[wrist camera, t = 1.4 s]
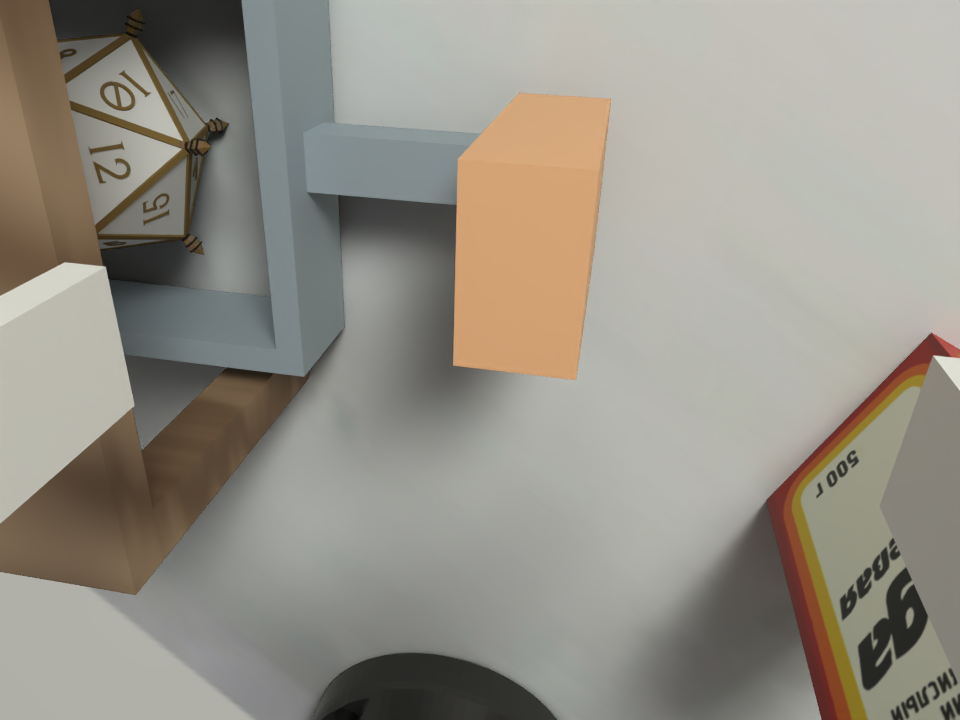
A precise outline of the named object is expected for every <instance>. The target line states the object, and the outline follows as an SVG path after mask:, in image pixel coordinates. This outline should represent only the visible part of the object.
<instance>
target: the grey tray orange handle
mask: <svg viewBox="0 0 960 720" xmlns="http://www.w3.org/2000/svg"><path fill="white" fill-rule="evenodd" d="M242 10H243V20H244V30H245V40H246V50H247V60H248V70H249V80H250V91H251V101H252V111H253V121H254V131H255V141H256V151H257V161H258V171H259V182H260V192H261V202H262V212H263V222H264V232H265V242H266V252H267V263H268V273H269V283H270V293H271V297H267V296H258V295H249V294H240V293H230V292H221V291H212V290H203V289H193V288H184V287H175V286H166V285H156V284H147V283H138V282H129V281H119V280H110V279H108V280H109V285H110V290H111V295H112V299H113V304H114V309H115V314H116V319H117V323H118V328H119V333H120V338H121V343H122V347H123V352H124V355H131V356H139V357H147V358H155V359H163V360H172V361H180V362H188V363H196V364H204V365H212V366H220V367H229V368H237V369H245V370H253V371H261V372H269V373H277V374H285V375H294V376H302V377H304V376H305V375H306V374H307V373H308V371H309V370H310V369H311V368H312V366H313V365H314V364H315V363H316V362H317V360H318V359H319V358H320V357H321V355H322V354H323V353H324V352H325V350H326V349H327V348H328V347H329V346H330V344H331V343H332V342H333V341H334V339H335V338H336V337H337V336H338V334H339V333H340V332H341V331H342V329H343V328H344V327H345V320H344V301H343V281H342V261H341V242H340V222H339V202H338V195H346V196H357V197H369V198H380V199H392V200H403V201H415V202H426V203H438V204H450V205H457V216H456V260H455V304H454V348H453V366H461V367H470V368H478V369H487V370H495V371H504V372H512V373H521V374H529V375H538V376H546V377H555V378H563V379H572V380H576V377H577V370H578V363H579V356H580V349H581V341H582V334H583V327H584V320H585V313H586V305H587V298H588V291H589V284H590V277H591V270H592V262H593V255H594V248H595V239H596V231H597V222H598V213H599V204H600V195H601V186H602V177H603V168H604V159H605V150H606V141H607V132H608V123H609V114H610V105H611V99H604V98H588V97H573V96H558V95H542V94H527V93H519V94H518V95H517V96H516V97H515V98H514V99H513V100H512V101H511V103H510V104H509V105H508V106H507V107H506V108H505V109H504V110H503V111H502V112H501V113H500V114H499V115H498V116H497V118H496V119H495V120H494V121H493V122H492V123H491V124H490V125H489V126H488V127H487V128H486V129H485V130H484V131H483V133H482V134H475V133H461V132H448V131H434V130H420V129H407V128H393V127H379V126H366V125H352V124H338V123H334V104H333V85H332V65H331V45H330V26H329V6H328V0H242Z"/></svg>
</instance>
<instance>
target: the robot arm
mask: <svg viewBox="0 0 960 720" xmlns="http://www.w3.org/2000/svg"><path fill="white" fill-rule="evenodd" d="M134 406H135V405H134V400H133V395H132V390H131V386H130V381H129V376H128V371H127V366H126V362H125V357H124V352H123V347H122V343H121V338H120V333H119V328H118V323H117V319H116V314H115V309H114V304H113V299H112V295H111V290H110V285H109V280H108V276H107V271H106V267H104V266H94V265H85V264H76V263H66V262H64V263H63V264H61V265H59V266H57V267H55V268H53V269H51V270H49V271H47V272H45V273H43V274H41V275H40V276H38V277H36V278H34V279H32V280H30V281H28V282H26V283H24V284H22V285H20V286H18V287H16V288H15V289H13V290H11V291H9V292H7V293H5V294H3V295H1V296H0V523H2V522H3V521H4V520H5V519H6V518H7V517H8V516H10V515H11V514H12V513H13V512H14V511H15V510H16V509H18V508H19V507H20V506H21V505H22V504H23V503H24V502H25V501H27V500H28V499H29V498H30V497H31V496H32V495H33V494H35V493H36V492H37V491H38V490H39V489H40V488H41V487H43V486H44V485H45V484H46V483H47V482H48V481H49V480H51V479H52V478H53V477H54V476H55V475H56V474H57V473H59V472H60V471H61V470H62V469H63V468H64V467H65V466H66V465H68V464H69V463H70V462H71V461H72V460H73V459H74V458H76V457H77V456H78V455H79V454H80V453H81V452H82V451H84V450H85V449H86V448H87V447H88V446H89V445H90V444H92V443H93V442H94V441H95V440H96V439H97V438H98V437H100V436H101V435H102V434H103V433H104V432H105V431H106V430H108V429H109V428H110V427H111V426H112V425H113V424H114V423H115V422H117V421H118V420H119V419H120V418H121V417H122V416H123V415H125V414H126V413H127V412H128V411H129V410H130V409H131V408H133V407H134ZM879 507H880V509H881V511H882V514H883V516H884V518H885V520H886V523H887V525H888V527H889V529H890V532H891V534H892V536H893V538H894V541H895V543H896V545H897V547H898V550H899V552H900V554H901V556H902V558H903V561H904V563H905V565H906V567H907V570H908V572H909V574H910V576H911V579H912V581H913V583H914V585H915V588H916V590H917V592H918V594H919V597H920V599H921V601H922V603H923V606H924V608H925V610H926V612H927V614H928V617H929V619H930V621H931V623H932V626H933V628H934V630H935V632H936V635H937V637H938V639H939V641H940V644H941V646H942V648H943V650H944V653H945V655H946V657H947V659H948V661H949V664H950V666H951V668H952V670H953V673H954V675H955V677H956V679H957V682H958V684H959V686H960V358H952V357H943V356H934V355H933V357H932V360H931V363H930V365H929V368H928V371H927V374H926V377H925V379H924V382H923V385H922V388H921V391H920V394H919V396H918V399H917V402H916V405H915V408H914V410H913V413H912V416H911V419H910V422H909V424H908V427H907V430H906V433H905V436H904V438H903V441H902V444H901V447H900V450H899V452H898V455H897V458H896V461H895V464H894V466H893V469H892V472H891V475H890V478H889V480H888V483H887V486H886V489H885V492H884V495H883V497H882V500H881V503H880V506H879ZM313 720H557V719H556V718H555V717H554V716H553V714H552V713H551V712H550V711H549V710H548V709H547V708H546V707H545V706H544V705H543V704H542V703H541V702H540V701H539V700H538V699H537V698H536V697H534V696H533V695H532V694H531V693H529V692H528V691H527V690H525V689H524V688H522V687H521V686H519V685H518V684H516V683H515V682H513V681H511V680H509V679H508V678H506V677H504V676H502V675H500V674H498V673H496V672H494V671H491V670H489V669H487V668H484V667H481V666H479V665H476V664H473V663H470V662H466V661H463V660H459V659H455V658H450V657H445V656H438V655H430V654H395V655H388V656H382V657H378V658H374V659H370V660H367V661H364V662H362V663H359V664H357V665H355V666H353V667H351V668H349V669H348V670H346V671H345V672H343V673H342V674H340V675H339V676H338V677H337V678H336V679H335V680H334V681H333V682H332V683H331V684H330V685H329V687H328V688H327V689H326V691H325V693H324V694H323V697H322V699H321V701H320V704H319V706H318V708H317V711H316V713H315V715H314V718H313Z"/></svg>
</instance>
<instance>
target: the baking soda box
mask: <svg viewBox="0 0 960 720" xmlns="http://www.w3.org/2000/svg"><path fill="white" fill-rule="evenodd" d="M933 355H934V356H943V357H952V358H960V350H959V349H958V348H956V347H954V346H953V345H951V344H949V343H948V342H946V341H944V340H943V339H941V338H939V337H938V336H936V335H934V334H933V333H931V334H930V335H929V336H928V337H927V338H926V339H925V340H924V341H923V342H922V343H921V344H920V345H919V346H918V347H917V348H916V349H915V350H914V351H913V352H912V353H911V354H910V355H909V356H908V357H907V358H906V359H905V360H904V361H903V362H902V363H901V364H900V365H899V366H898V367H897V368H896V369H895V370H894V371H893V372H892V373H891V374H890V375H889V376H888V377H887V378H886V380H885V381H884V382H883V383H882V384H881V385H880V386H879V387H878V388H877V389H876V390H875V391H874V392H873V393H872V394H871V395H870V396H869V397H868V398H867V399H866V400H865V401H864V402H863V403H862V404H861V405H860V406H859V407H858V408H857V409H856V410H855V411H854V412H853V413H852V414H851V415H850V416H849V417H848V418H847V419H846V420H845V421H844V422H843V423H842V424H841V425H840V426H839V427H838V428H837V429H836V430H835V431H834V432H833V433H832V434H831V435H830V436H829V437H828V438H827V439H826V440H825V441H824V442H823V443H822V444H821V445H820V446H819V447H818V448H817V449H816V450H815V451H814V452H813V454H812V455H811V456H810V457H809V458H808V459H807V460H806V461H805V462H804V463H803V464H802V465H801V466H800V467H799V468H798V469H797V470H796V471H795V472H794V473H793V474H792V475H791V476H790V477H789V478H788V479H787V480H786V481H785V482H784V483H783V484H782V485H781V486H780V487H779V488H778V489H777V490H776V491H775V492H774V493H773V494H772V495H771V496H770V497H769V498H768V499H767V504H768V508H769V512H770V516H771V520H772V524H773V528H774V532H775V536H776V540H777V544H778V548H779V552H780V556H781V560H782V564H783V568H784V572H785V576H786V580H787V584H788V588H789V592H790V596H791V600H792V604H793V608H794V612H795V616H796V620H797V624H798V628H799V631H800V635H801V639H802V643H803V647H804V651H805V655H806V659H807V663H808V667H809V671H810V675H811V679H812V683H813V687H814V691H815V695H816V699H817V703H818V707H819V711H820V715H821V719H822V720H960V686H959V684H958V682H957V679H956V677H955V675H954V673H953V670H952V668H951V666H950V664H949V661H948V659H947V657H946V655H945V653H944V650H943V648H942V646H941V644H940V641H939V639H938V637H937V635H936V632H935V630H934V628H933V626H932V623H931V621H930V619H929V617H928V614H927V612H926V610H925V608H924V606H923V603H922V601H921V599H920V597H919V594H918V592H917V590H916V588H915V585H914V583H913V581H912V579H911V576H910V574H909V572H908V570H907V567H906V565H905V563H904V561H903V558H902V556H901V554H900V552H899V550H898V547H897V545H896V543H895V541H894V538H893V536H892V534H891V532H890V529H889V527H888V525H887V523H886V520H885V518H884V516H883V514H882V511H881V509H880V507H879V506H880V503H881V500H882V497H883V495H884V492H885V489H886V486H887V483H888V480H889V478H890V475H891V472H892V469H893V466H894V464H895V461H896V458H897V455H898V452H899V450H900V447H901V444H902V441H903V438H904V436H905V433H906V430H907V427H908V424H909V422H910V419H911V416H912V413H913V410H914V408H915V405H916V402H917V399H918V396H919V394H920V391H921V388H922V385H923V382H924V379H925V377H926V374H927V371H928V368H929V365H930V363H931V360H932V357H933Z"/></svg>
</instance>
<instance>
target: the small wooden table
mask: <svg viewBox="0 0 960 720" xmlns="http://www.w3.org/2000/svg"><path fill="white" fill-rule="evenodd" d="M64 262H66V263H76V264H85V265H94V266H103V262H102V257H101V253H100V248H99V243H98V238H97V233H96V228H95V223H94V219H93V214H92V209H91V204H90V199H89V194H88V189H87V184H86V180H85V175H84V170H83V165H82V160H81V155H80V150H79V146H78V141H77V136H76V131H75V126H74V121H73V116H72V111H71V107H70V102H69V97H68V92H67V87H66V82H65V77H64V72H63V68H62V63H61V58H60V53H59V48H58V43H57V38H56V34H55V29H54V24H53V19H52V14H51V9H50V4H49V0H0V296H1V295H3V294H5V293H7V292H9V291H11V290H13V289H15V288H16V287H18V286H20V285H22V284H24V283H26V282H28V281H30V280H32V279H34V278H36V277H38V276H40V275H41V274H43V273H45V272H47V271H49V270H51V269H53V268H55V267H57V266H59V265H61V264H63V263H64ZM308 378H309V373H307V374H306V375H305V376H304V377H302V376H294V375H285V374H277V373H269V372H261V371H253V370H245V369H237V368H229V367H227V368H226V369H225V370H224V371H223V372H222V373H221V374H220V375H219V376H218V377H217V378H216V379H215V380H214V381H213V382H212V383H211V384H210V385H209V386H207V387H206V388H205V389H204V390H203V391H202V392H201V393H200V394H199V395H198V396H197V397H196V398H195V399H194V400H193V401H192V402H191V403H190V404H189V405H188V406H187V407H186V408H185V409H184V410H183V411H182V412H181V413H180V414H179V415H178V416H177V417H176V418H175V419H174V420H173V421H172V422H171V423H170V424H169V425H168V426H167V427H165V428H164V429H163V430H162V431H161V432H160V433H159V434H158V435H157V436H156V437H155V438H154V439H153V440H152V441H151V442H150V443H149V444H148V445H147V446H146V447H145V448H144V449H143V450H142V451H141V447H140V442H139V438H138V433H137V428H136V423H135V418H134V413H133V408H131V409H130V410H129V411H128V412H127V413H126V414H125V415H123V416H122V417H121V418H120V419H119V420H118V421H117V422H115V423H114V424H113V425H112V426H111V427H110V428H109V429H108V430H106V431H105V432H104V433H103V434H102V435H101V436H100V437H98V438H97V439H96V440H95V441H94V442H93V443H92V444H90V445H89V446H88V447H87V448H86V449H85V450H84V451H82V452H81V453H80V454H79V455H78V456H77V457H76V458H74V459H73V460H72V461H71V462H70V463H69V464H68V465H66V466H65V467H64V468H63V469H62V470H61V471H60V472H59V473H57V474H56V475H55V476H54V477H53V478H52V479H51V480H49V481H48V482H47V483H46V484H45V485H44V486H43V487H41V488H40V489H39V490H38V491H37V492H36V493H35V494H33V495H32V496H31V497H30V498H29V499H28V500H27V501H25V502H24V503H23V504H22V505H21V506H20V507H19V508H18V509H16V510H15V511H14V512H13V513H12V514H11V515H10V516H8V517H7V518H6V519H5V520H4V521H3V522H2V523H0V572H4V573H10V574H16V575H22V576H28V577H34V578H40V579H45V580H51V581H58V582H63V583H69V584H75V585H80V586H86V587H92V588H98V589H104V590H110V591H115V592H121V593H127V594H133V595H136V594H137V593H138V592H139V590H140V589H141V588H142V587H143V585H144V584H145V583H146V582H147V580H148V579H149V578H150V577H151V575H152V574H153V573H154V572H155V570H156V569H157V568H158V567H159V565H160V564H161V563H162V562H163V560H164V559H165V558H166V557H167V555H168V554H169V553H170V551H171V550H172V549H173V548H174V546H175V545H176V544H177V543H178V541H179V540H180V539H181V538H182V536H183V535H184V534H185V533H186V531H187V530H188V529H189V528H190V526H191V525H192V524H193V523H194V521H195V520H196V519H197V518H198V516H199V515H200V514H201V513H202V511H203V510H204V509H205V508H206V506H207V505H208V504H209V503H210V501H211V500H212V499H213V498H214V496H215V495H216V494H217V493H218V491H219V490H220V489H221V487H222V486H223V485H224V484H225V482H226V481H227V480H228V479H229V477H230V476H231V475H232V474H233V472H234V471H235V470H236V469H237V467H238V466H239V465H240V464H241V462H242V461H243V460H244V459H245V457H246V456H247V455H248V454H249V452H250V451H251V450H252V449H253V447H254V446H255V445H256V444H257V442H258V441H259V440H260V439H261V437H262V436H263V435H264V434H265V432H266V431H267V430H268V429H269V427H270V426H271V425H272V424H273V422H274V421H275V420H276V418H277V417H278V416H279V415H280V413H281V412H282V411H283V410H284V408H285V407H286V406H287V405H288V403H289V402H290V401H291V400H292V398H293V397H294V396H295V395H296V393H297V392H298V391H299V390H300V388H301V387H302V386H303V385H304V383H305V382H306V381H307V380H308Z"/></svg>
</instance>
